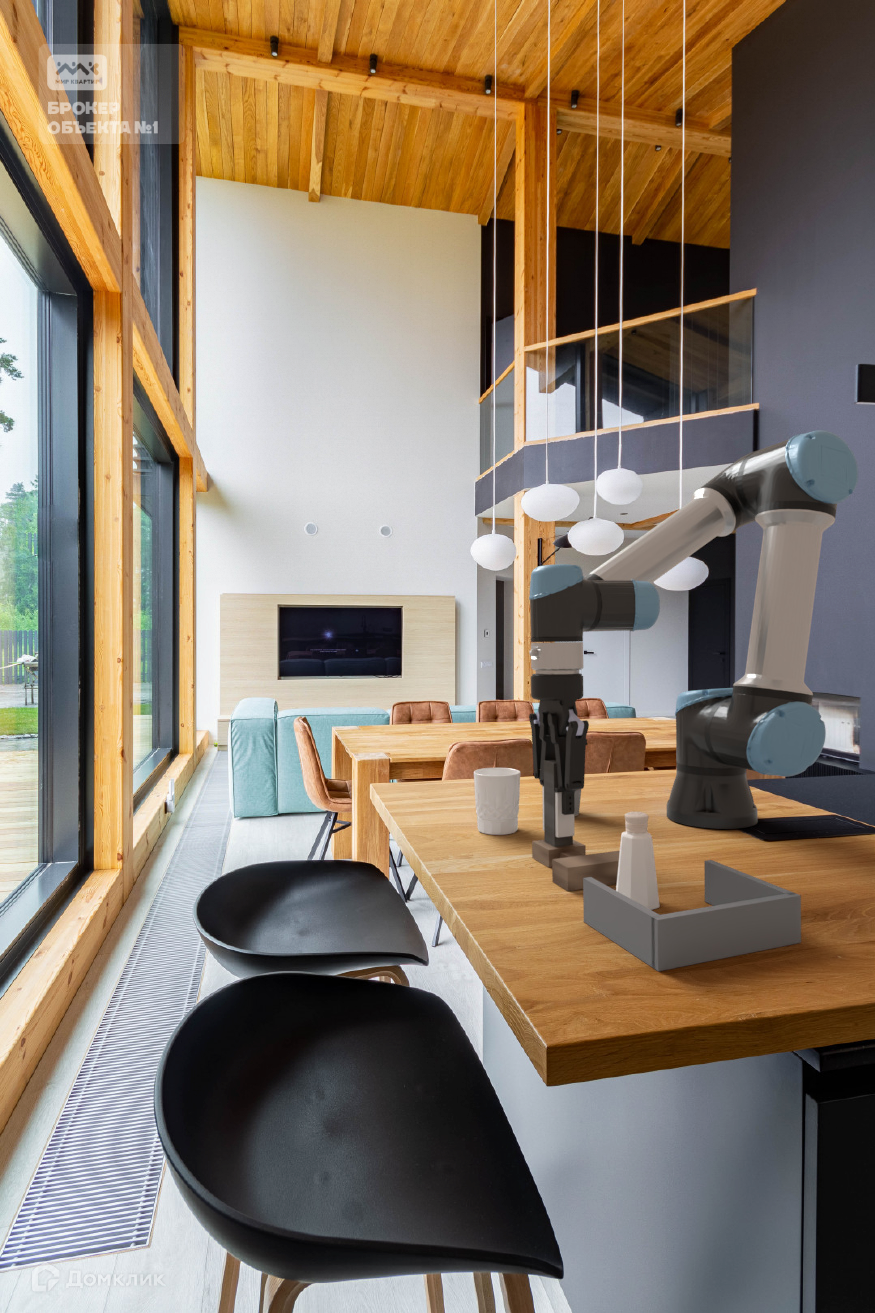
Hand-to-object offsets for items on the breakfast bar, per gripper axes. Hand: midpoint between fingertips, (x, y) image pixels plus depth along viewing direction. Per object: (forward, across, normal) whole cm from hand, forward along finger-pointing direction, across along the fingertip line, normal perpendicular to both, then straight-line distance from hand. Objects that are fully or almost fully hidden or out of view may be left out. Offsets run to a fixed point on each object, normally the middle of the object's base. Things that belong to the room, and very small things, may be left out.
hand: (558, 832), depth 106 cm
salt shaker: (+4, +19, 0) cm, 19 cm away
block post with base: (+4, +5, 0) cm, 6 cm away
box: (+4, +28, 0) cm, 28 cm away
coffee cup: (+4, -25, +15) cm, 29 cm away
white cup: (+4, -19, -1) cm, 20 cm away
